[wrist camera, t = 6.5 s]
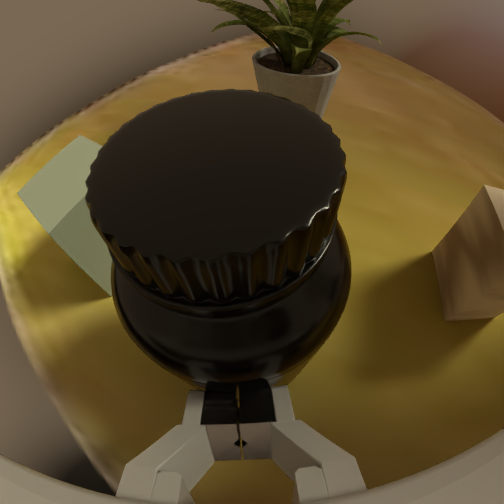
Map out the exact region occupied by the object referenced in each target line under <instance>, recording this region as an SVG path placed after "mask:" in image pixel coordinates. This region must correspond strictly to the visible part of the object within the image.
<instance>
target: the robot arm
mask: <svg viewBox="0 0 504 504" xmlns="http://www.w3.org/2000/svg"><path fill="white" fill-rule="evenodd" d="M239 402H240V407H238V394H237V393H226V392H216V391H209V390H190V391H189V392H188V396H187V401H186V405H185V410H184V415H183V419H182V424H181V425H176V426H175V427H173V428H172V429H171V430H170V431H168V432H167V433H166V434H165V435H163V436H162V437H161V438H160V439H158V440H157V441H156V442H155V443H153V444H152V445H151V446H149V447H148V448H147V449H146V450H144V451H143V452H142V453H140V454H139V455H138V456H136V457H135V458H134V459H132V460H131V461H130V462H128V463H127V464H126V465H125V468H124V471H123V474H122V477H121V480H120V483H119V486H118V489H117V493H116V496H111V495H107V494H103V493H99V492H96V491H92V490H88V489H85V488H81V487H78V486H75V485H72V484H69V483H66V482H63V481H60V480H58V479H55V478H52V477H49V476H47V475H44V474H42V473H39V472H37V471H34V470H32V469H30V468H28V467H26V466H23V465H21V464H19V463H17V462H15V461H13V460H10V459H9V458H7V457H5V456H3V455H1V454H0V504H195V502H194V500H193V498H192V496H191V494H190V491H191V490H192V489H193V488H194V487H195V485H196V484H197V483H198V482H199V481H200V479H201V478H202V477H203V476H204V475H205V473H206V472H207V471H208V470H209V468H210V467H211V466H212V465H213V464H214V461H225V460H242V451H241V439H242V448H243V454H244V460H248V459H270V458H272V460H273V461H274V462H275V463H276V465H277V466H278V467H279V468H280V469H281V470H282V471H283V472H284V473H285V474H286V475H287V476H288V477H289V478H290V479H291V480H292V481H293V482H294V486H293V495H292V503H291V504H504V428H503V429H501V430H500V431H498V432H496V433H495V434H493V435H492V436H490V437H488V438H487V439H485V440H483V441H482V442H480V443H478V444H476V445H475V446H473V447H471V448H469V449H467V450H465V451H463V452H462V453H460V454H458V455H456V456H454V457H452V458H450V459H447V460H445V461H443V462H441V463H439V464H437V465H434V466H432V467H430V468H427V469H425V470H423V471H420V472H418V473H415V474H413V475H410V476H407V477H405V478H402V479H399V480H396V481H393V482H390V483H387V484H384V485H381V486H378V487H374V488H371V489H367V488H366V485H365V483H364V480H363V477H362V475H361V472H360V469H359V467H358V464H357V461H356V459H355V457H354V456H352V455H351V454H349V453H348V452H346V451H345V450H343V449H342V448H340V447H339V446H337V445H336V444H334V443H333V442H331V441H330V440H328V439H327V438H325V437H324V436H323V435H321V434H320V433H318V432H317V431H315V430H314V429H313V428H311V427H310V426H308V425H307V424H306V423H304V422H303V421H302V420H295V416H294V412H293V407H292V403H291V398H290V394H289V390H288V386H287V385H283V386H274V387H271V388H270V387H269V388H264V389H260V390H256V391H250V392H241V393H239ZM240 435H241V437H240Z"/></svg>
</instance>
